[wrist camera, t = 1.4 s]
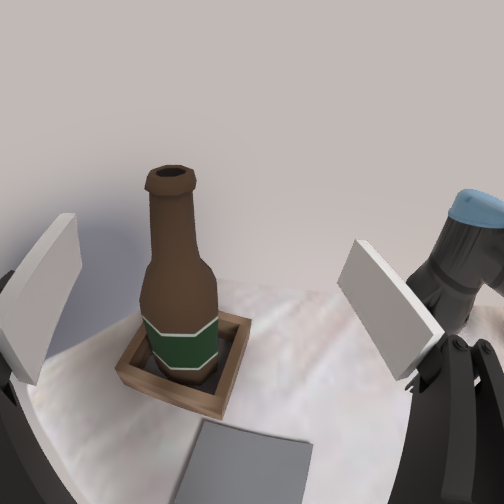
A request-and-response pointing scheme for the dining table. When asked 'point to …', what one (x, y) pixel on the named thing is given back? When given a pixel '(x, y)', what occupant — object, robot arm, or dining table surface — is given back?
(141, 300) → the beer bottle
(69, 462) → the dining table surface
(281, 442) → the coaster
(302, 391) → the dining table surface
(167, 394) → the caddy
